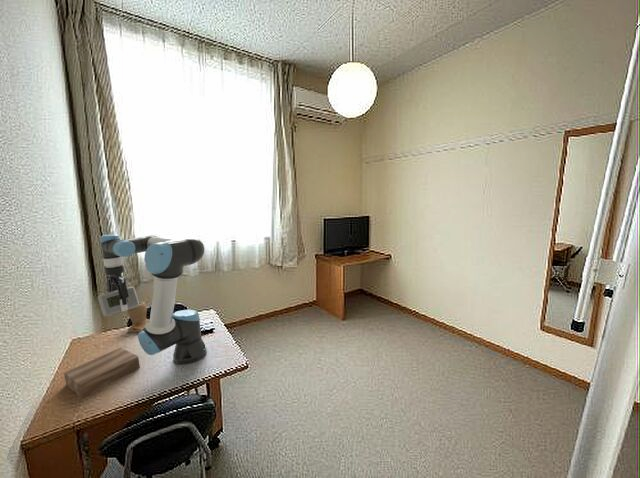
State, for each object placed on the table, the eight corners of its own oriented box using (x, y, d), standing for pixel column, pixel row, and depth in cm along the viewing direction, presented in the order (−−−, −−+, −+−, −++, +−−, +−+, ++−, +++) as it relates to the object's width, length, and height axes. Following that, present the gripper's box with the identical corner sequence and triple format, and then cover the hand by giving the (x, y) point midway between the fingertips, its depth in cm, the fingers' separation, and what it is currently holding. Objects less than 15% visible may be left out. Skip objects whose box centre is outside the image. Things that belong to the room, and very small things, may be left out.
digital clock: (102, 318, 133) (98, 297, 132) (99, 313, 140) (96, 292, 138) (141, 308, 145) (138, 288, 143) (137, 303, 151) (134, 284, 149)
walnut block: (139, 368, 131) (138, 356, 130) (82, 398, 112) (80, 384, 111) (122, 358, 139) (120, 347, 138) (66, 385, 120) (63, 372, 119)
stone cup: (136, 322, 179) (133, 300, 176) (156, 321, 179) (153, 299, 176) (121, 334, 164) (117, 310, 161) (142, 333, 164) (139, 309, 162)
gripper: (132, 266, 137) (139, 310, 141) (112, 261, 147) (119, 303, 151) (115, 269, 130) (122, 316, 134) (95, 265, 140) (102, 308, 144)
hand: (120, 309), depth 142 cm, fingers closed on digital clock, 7 cm apart
